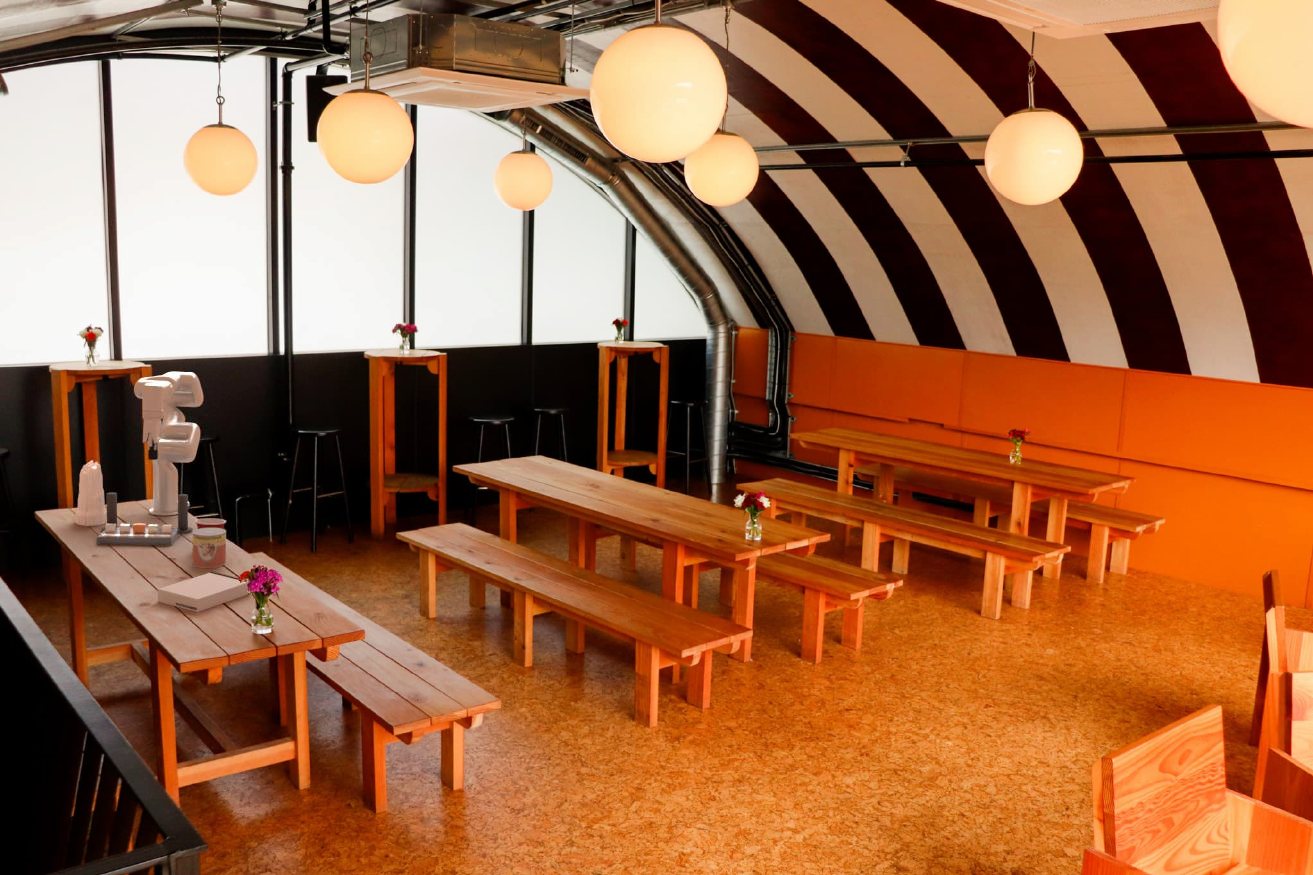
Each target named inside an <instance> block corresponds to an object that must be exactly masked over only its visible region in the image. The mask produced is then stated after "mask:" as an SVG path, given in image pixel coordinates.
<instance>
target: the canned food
mask: <svg viewBox="0 0 1313 875" xmlns="http://www.w3.org/2000/svg"><path fill="white" fill-rule="evenodd" d="M226 552H227V529H225V528H223V529H222V528H200V529H198V528H196V529H194V530H192V566H194V567H198V568H200V569H201V568H202V569H209V568H210V569H211V568H219V567H222V566H225V565H226V564H227V560H226V559H227V558H226V557H227V553H226Z"/></svg>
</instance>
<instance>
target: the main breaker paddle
mask: <svg viewBox="0 0 1313 875" xmlns="http://www.w3.org/2000/svg"><path fill="white" fill-rule="evenodd" d="M132 528H133V532H145V531H146V528H147V527H146V523H140V522H139V523H133V524H132Z"/></svg>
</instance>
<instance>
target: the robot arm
mask: <svg viewBox="0 0 1313 875" xmlns="http://www.w3.org/2000/svg"><path fill="white" fill-rule="evenodd" d="M133 393H134V395H135V396H136V397H137V399H142V419H144V420H143V432H142V443H143V444H147V443H148V444H147V447H148V448H147V452H148V454H147V456H148V458H147V459H148V460H149V461H152V492H153V493H152V495H153V496H152V506H153V507H151V508H150V509H149V510H148V512H149V514H150V515H153V516H161V517H162V516H163V517H167V516H174V515H175V516H176V515H178V495H179V485H178V484H179V473H178V468H176V466H175V465H174V464H173V463H191V462H193V461H194V460H195V458H196V455H197V451H198V447H199V444H200V439H201V429H200V426H199V425H198V424H197V423H194V422H188V421H187V422H186V416H185V415H184V413H183V412H182V411H181V410H180V409H179V408H178V407H182V408H183V407H185V408H187V407H189V408H197V407H200V406H201V405H203V402H204V392H203V388H202V386H201V382H200V379H199V377H198V375H197V374H195V373H194V372H188V371H187V372H184V371H169V372H165V373H164V374H162V375H155V376H148V377H141V378H139V379H138V380H137V381H135V384H134V387H133ZM190 505H191V504H190V502H189V501H188V507H190Z"/></svg>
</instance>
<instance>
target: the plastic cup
mask: <svg viewBox="0 0 1313 875" xmlns="http://www.w3.org/2000/svg"><path fill="white" fill-rule="evenodd" d="M194 522H195V524H196V526H197V528H196V529H200V528H222V529H224V526H225V524H226V523H227V520H225V519H222V518H214V517H213V518H211V517H210V518H208V517H207V518H199V519H195V520H194Z"/></svg>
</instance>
